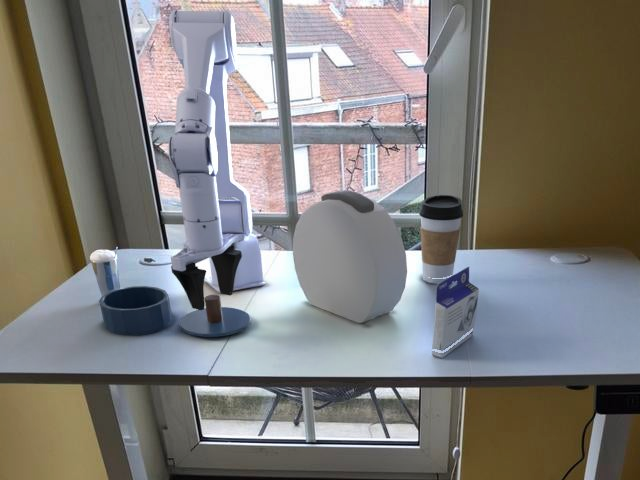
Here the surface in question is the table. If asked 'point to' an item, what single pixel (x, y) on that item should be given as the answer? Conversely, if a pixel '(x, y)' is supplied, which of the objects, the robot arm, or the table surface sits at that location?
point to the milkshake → (105, 270)
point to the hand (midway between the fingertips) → (212, 301)
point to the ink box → (454, 312)
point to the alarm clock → (349, 256)
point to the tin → (136, 310)
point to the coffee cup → (439, 235)
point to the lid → (214, 319)
